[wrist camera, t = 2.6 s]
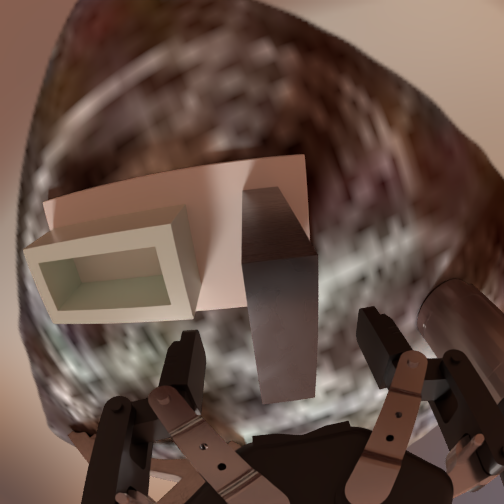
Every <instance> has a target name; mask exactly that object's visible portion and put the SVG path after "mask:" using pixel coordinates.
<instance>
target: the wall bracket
mask: <svg viewBox="0 0 504 504" xmlns="http://www.w3.org/2000/svg"><path fill="white" fill-rule="evenodd" d="M68 436H69V438H70V439H71V441H72V442H73V443H74V445H75V446H76V448H77V449H78V450H79V451H80V453H81V454H82V455H83V457H84V458H85V459H86V460H87V462H88V463H89V462H90V458H91V454H92V450H93V446H94V442H95V438H96V434H94V435H93V436H91V437H89V436H88V435H87V433H86V432H81V433H76V432H74V431H72V432H71V433H70V434H69V435H68ZM228 445H229V446H230V447H231V448H232V449H233V450H234V451H235V450H237V449H238V448H240V447H242V446H241V445H239V444H237V443H235V442H233V441H230V442H229V444H228ZM150 476H152V477H156V478H160V479H164V480H169V481H174V482H178V483H177V484H176V485H175V486H174V487H173V488H172V489H171V490H170V491H169V492H168V493H167V494H165V495H164V496H163V497H162V498H161V499H160V500H159V501H158V502H155V501H154V500H153V499H152V498H151V497H149V496H148V498H149V499H150V500H152V501H153V502H154V503H156V504H184V503H185V502H186V501H187V500H188V499H189V498H190V497H191V496H192V495H193V494H194V493H195V492H196V491H197V490H198V489H199V488H200V487H201V486H202V485H203V484H204V483H205V482H206V481H205V480H204V479H203V478H202V477H201V476H200V474H199V473H198V472H197V471H196V470H195V468H194V467H193V466H192V465H191V463H190V462H189V461H188V459H155V458H151V467H150Z"/></svg>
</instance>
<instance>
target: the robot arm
mask: <svg viewBox="0 0 504 504" xmlns="http://www.w3.org/2000/svg"><path fill="white" fill-rule="evenodd" d="M417 327H418V330H419V332H420V333H421V335H422V336H423V338H424V339H425V340H426V342H427V343H428V345H429V346H430V348H431V349H432V351H433V352H434V353H435V355H436V356H437V358H432V359H429V358H426V356H425V355H424V354H422V353H421V352H419V351H414V350H412V348H411V346H410V345H409V343H408V342H407V340H406V339H405V337H404V336H403V334H402V333H401V332H400V330H399V328H398V327H397V326H396V324H395V323H394V321H393V320H392V319H391V318H390V317H388V316H387V315H385V314H381V315H380V314H379V312H378V311H377V309H376V308H375V307H374V306H371V307H366V308H361V309H359V313H358V322H357V330H356V337H357V342H358V344H359V347H360V349H361V351H362V353H363V355H364V357H365V359H366V361H367V363H368V365H369V367H370V370H371V372H372V374H373V376H374V378H375V380H376V383H377V385H378V387H379V389H383V388H388V390H389V391H388V394H387V397H386V399H385V402H384V404H383V407H382V410H381V412H380V414H379V417H378V419H377V422H376V424H375V426H374V429H373V431H371V430H369V429H365V428H361V427H350V424H349V421H345V422H341V423H336V424H331V425H327V426H324V427H322V428H319V429H317V430H314V431H312V432H309V433H307V434H304V435H289V434H268V435H259V436H252V437H253V442H252V443H249V444H246V445H244V446H242V447H240V448H238V449H237V450H235V451H234V450H233V449H232V448H231V447H230V446H229V445H228V444H227V443H226V442H225V441H224V440H223V439H222V438H221V437H220V436H219V435H218V434H217V433H216V432H215V430H214V429H213V428H212V427H211V426H210V425H209V424H208V423H207V422H206V421H205V420H204V419H203V418H202V417H199V416H198V415H201V409H202V398H203V388H204V378H205V369H206V355H205V351H204V347H203V344H202V341H201V337H200V334H199V331H198V330H187V331H183V332H182V335H181V340H180V341H174V342H173V343H172V344H171V346H170V347H169V348H168V351H167V354H166V358H165V362H164V363H165V364H164V366H163V370H162V374H161V378H160V382H159V386H158V387H157V388H155V389H154V390H153V391H152V392H151V393H150V394H149V397H148V398H146V399H142V400H138V401H134V402H130V400H129V399H128V398H126V397H123V396H116V397H113V398H111V399H110V400H108V401H107V402H106V404H105V406H104V409H103V412H102V415H101V419H100V423H99V426H98V430H97V434H96V438H95V442H94V446H93V450H92V454H91V458H90V462H89V467H88V471H87V476H86V481H85V486H84V491H83V496H82V502H81V504H156V503H154V502H153V501H152V500H150V499H149V498H148V489H149V477H150V467H151V457H152V448H153V441H157V440H161V439H165V438H169V437H171V438H172V440H173V441H174V442H175V444H176V445H177V446H178V448H179V449H180V450H181V452H182V453H183V454H184V456H185V457H186V458H187V459H188V461H189V462H190V463H191V465H192V466H193V467H194V468H195V470H196V471H197V472H198V473H199V474H200V476H201V477H202V478H203V479H204V480H205V481H206V482H205V483H204V484H203V485H202V486H201V487H200V488H199V489H198V490H197V491H196V492H195V493H194V494H193V495H192V496H191V497H190V498H189V499H188V500H187V501H186V502H185V503H184V504H452V500H453V498H455V497H457V496H459V495H461V494H463V493H465V492H467V491H468V492H475V491H478V490H479V489H481V488H482V487H483V486H485V485H486V484H487V483H489V482H490V481H491V480H493V479H494V478H495V477H497V476H498V475H500V477H501V480H502V483H503V485H504V313H503V312H502V311H501V310H500V309H499V308H498V307H497V306H496V305H495V304H493V303H492V302H491V301H490V300H489V299H488V298H487V297H486V296H485V295H484V294H483V293H482V292H480V291H479V290H478V289H477V288H476V287H475V286H474V285H473V284H470V285H468V284H466V283H465V282H464V281H462V280H460V279H453V280H449V281H447V282H445V283H443V284H441V285H440V286H438V287H437V288H436V289H435V290H434V291H433V292H432V293H431V294H430V295H429V296H428V298H427V299H426V301H425V302H424V303H423V305H422V307H421V309H420V312H419V315H418V320H417ZM421 401H428V402H429V404H430V407H431V409H432V411H433V413H434V415H435V418H436V420H437V422H438V425H439V427H440V429H441V432H442V434H443V436H444V438H445V441H446V444H447V446H448V449H449V451H450V452H449V453H448V455H447V457H446V472H445V471H444V470H443V469H441V468H439V467H437V466H435V465H433V464H431V463H429V462H427V461H425V460H423V459H422V458H420V457H418V456H416V455H414V454H412V453H410V452H409V451H407V450H406V448H407V445H408V442H409V439H410V436H411V433H412V430H413V427H414V424H415V420H416V417H417V413H418V410H419V406H420V402H421Z"/></svg>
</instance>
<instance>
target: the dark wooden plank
mask: <svg viewBox="0 0 504 504" xmlns="http://www.w3.org/2000/svg"><path fill="white" fill-rule="evenodd" d="M241 265H242V272H243V279H244V286H245V293H246V300H247V306H248V313H249V320H250V326H251V333H252V339H253V346H254V352H255V359H256V365H257V372H258V378H259V384H260V391H261V397H262V403H263V404H269V403H278V402H286V401H294V400H301V399H307V398H313V397H315V386H316V368H317V342H318V254H317V252H316V250H315V249H314V247H313V245H312V243H311V242H310V240H309V238H308V236H307V235H306V233H305V231H304V229H303V228H302V226H301V224H300V223H299V221H298V219H297V217H296V216H295V214H294V212H293V211H292V209H291V207H290V206H289V204H288V202H287V201H286V199H285V197H284V196H283V194H282V192H281V191H280V189H279V188H278V186H277V187H268V188H259V189H250V190H242V245H241Z"/></svg>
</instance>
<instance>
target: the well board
mask: <svg viewBox="0 0 504 504" xmlns="http://www.w3.org/2000/svg"><path fill="white" fill-rule="evenodd" d="M277 186H278V188H279V189H280V191H281V192H282V194H283V196H284V197H285V199H286V201H287V202H288V204H289V206H290V207H291V209H292V211H293V212H294V214H295V216H296V217H297V219H298V221H299V223H300V224H301V226H302V228H303V229H304V231H305V233H306V235H307V236H308V238H309V240H310V231H309V211H308V194H307V179H306V166H305V155H304V154H295V155H283V156H272V157H262V158H253V159H244V160H236V161H228V162H221V163H214V164H207V165H201V166H194V167H188V168H182V169H176V170H171V171H165V172H160V173H155V174H150V175H145V176H140V177H135V178H131V179H126V180H122V181H117V182H113V183H109V184H105V185H100V186H96V187H92V188H89V189H85V190H81V191H77V192H74V193H70V194H66V195H63V196H59V197H56V198H53V199H49V200H47V201H45V202H43V206H44V210H45V214H46V217H47V221H48V225H49V228H50V231H49V232H47V233H46V234H45V235H43V236H42V237H40V238H39V239H37V240H36V241H34V242H33V243H31V244H30V245H29V246H27V247H26V248H24V249H23V252H24V255H25V258H26V260H27V263H28V266H29V269H30V271H31V274H32V276H33V279H34V281H35V284H36V286H37V289H38V291H39V293H40V296H41V298H42V300H43V302H44V305H45V307H46V309H47V311H48V313H49V315H50V317H51V319H52V321H53V323H54V324H97V323H132V322H153V321H170V320H185V319H194V315H195V311H203V310H215V309H225V308H235V307H245V306H247V300H246V293H245V286H244V279H243V272H242V265H241V245H242V190H250V189H259V188H268V187H277Z"/></svg>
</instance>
